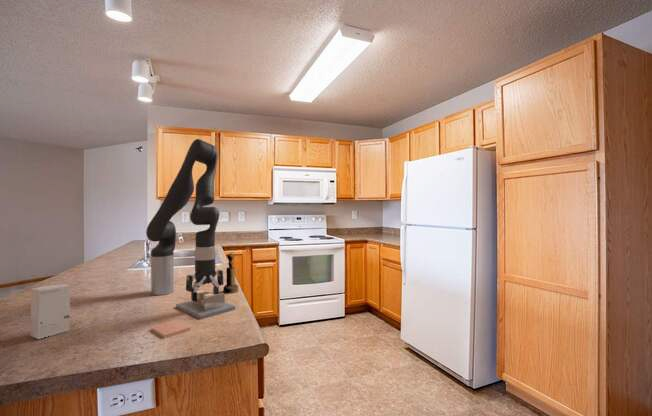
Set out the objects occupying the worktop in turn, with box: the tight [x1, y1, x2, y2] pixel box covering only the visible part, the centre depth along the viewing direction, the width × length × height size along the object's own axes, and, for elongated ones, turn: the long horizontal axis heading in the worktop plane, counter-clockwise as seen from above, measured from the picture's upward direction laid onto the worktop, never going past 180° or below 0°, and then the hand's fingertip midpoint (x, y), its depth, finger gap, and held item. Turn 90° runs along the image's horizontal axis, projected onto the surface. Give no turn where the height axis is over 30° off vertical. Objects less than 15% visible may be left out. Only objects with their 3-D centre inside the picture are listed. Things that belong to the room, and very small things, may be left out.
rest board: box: [175, 300, 236, 320], centre depth 122 cm, size 20×14×1 cm
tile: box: [150, 319, 191, 339], centre depth 101 cm, size 1×8×10 cm
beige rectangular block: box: [191, 288, 226, 311], centre depth 123 cm, size 15×8×5 cm, turn 49°
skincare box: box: [29, 283, 71, 340], centre depth 98 cm, size 8×6×15 cm
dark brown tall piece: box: [222, 252, 239, 294], centre depth 146 cm, size 7×6×18 cm
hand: (205, 299), depth 122 cm, fingers open, 8 cm apart
